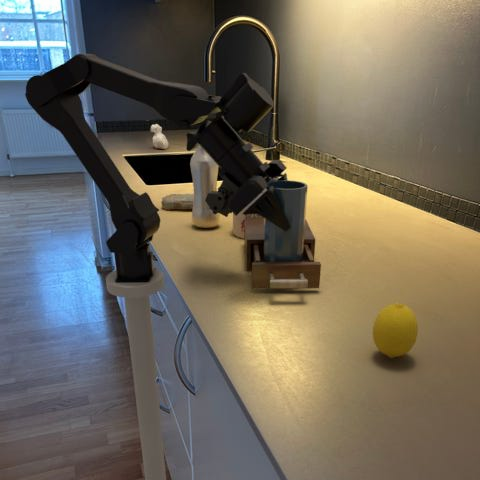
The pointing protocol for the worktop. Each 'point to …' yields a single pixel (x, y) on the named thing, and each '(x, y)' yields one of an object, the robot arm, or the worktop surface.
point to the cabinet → (256, 236)
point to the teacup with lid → (241, 222)
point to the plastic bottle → (203, 188)
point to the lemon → (395, 330)
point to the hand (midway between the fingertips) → (292, 223)
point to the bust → (159, 137)
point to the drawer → (285, 271)
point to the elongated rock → (178, 201)
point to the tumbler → (291, 241)
